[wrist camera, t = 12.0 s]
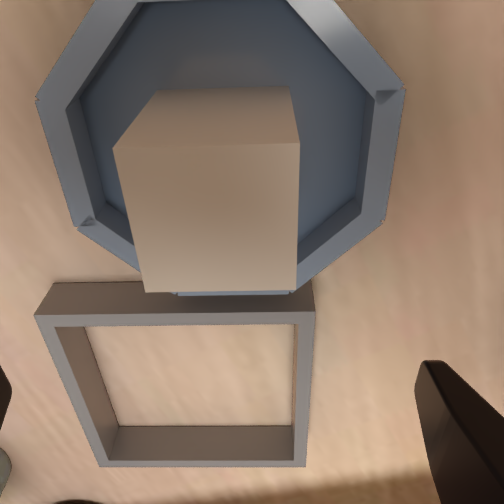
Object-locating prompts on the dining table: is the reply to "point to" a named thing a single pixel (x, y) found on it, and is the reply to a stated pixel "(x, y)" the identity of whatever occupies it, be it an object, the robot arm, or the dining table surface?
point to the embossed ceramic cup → (4, 469)
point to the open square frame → (161, 314)
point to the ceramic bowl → (228, 76)
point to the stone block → (213, 189)
